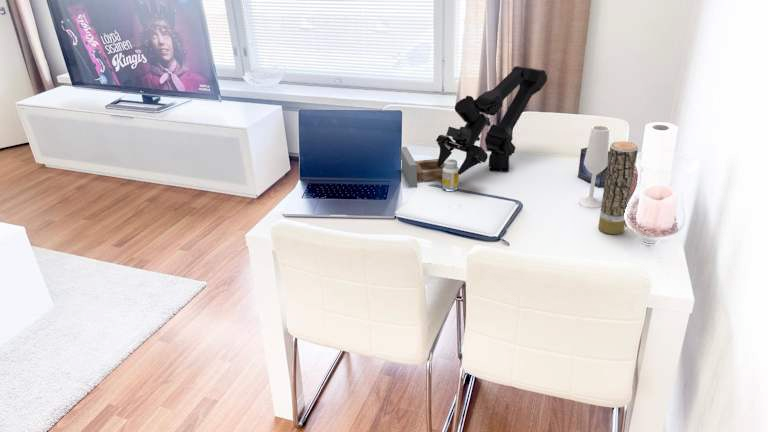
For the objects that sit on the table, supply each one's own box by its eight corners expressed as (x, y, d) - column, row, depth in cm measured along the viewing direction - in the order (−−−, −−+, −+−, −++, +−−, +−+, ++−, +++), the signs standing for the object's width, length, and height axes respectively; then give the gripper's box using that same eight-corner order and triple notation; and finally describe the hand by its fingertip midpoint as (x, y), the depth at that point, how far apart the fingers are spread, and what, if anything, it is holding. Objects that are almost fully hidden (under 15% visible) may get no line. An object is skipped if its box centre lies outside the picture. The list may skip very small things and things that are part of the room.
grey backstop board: (406, 167, 211) (406, 146, 207) (417, 187, 195) (416, 164, 191) (400, 168, 211) (399, 147, 207) (410, 187, 195) (409, 165, 191)
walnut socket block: (441, 169, 210) (441, 158, 208) (449, 180, 200) (449, 169, 198) (411, 171, 208) (411, 161, 206) (417, 183, 198) (417, 172, 197)
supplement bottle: (443, 192, 190) (444, 165, 186) (440, 186, 195) (441, 159, 191) (460, 191, 191) (460, 164, 186) (456, 184, 196) (457, 158, 191)
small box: (576, 177, 198) (579, 148, 193) (591, 173, 200) (594, 144, 196) (598, 188, 189) (602, 158, 185) (613, 184, 192) (618, 154, 187)
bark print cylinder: (625, 236, 160) (640, 150, 149) (599, 234, 162) (612, 149, 151) (621, 224, 166) (635, 141, 155) (596, 223, 168) (608, 140, 157)
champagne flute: (591, 196, 184) (602, 123, 173) (606, 205, 178) (617, 129, 167) (574, 200, 182) (583, 126, 171) (588, 209, 176) (598, 133, 165)
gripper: (440, 110, 191) (415, 150, 190) (483, 122, 178) (457, 165, 177) (456, 128, 199) (432, 167, 198) (498, 141, 186) (474, 182, 185)
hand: (448, 170), depth 189 cm, fingers open, 9 cm apart
